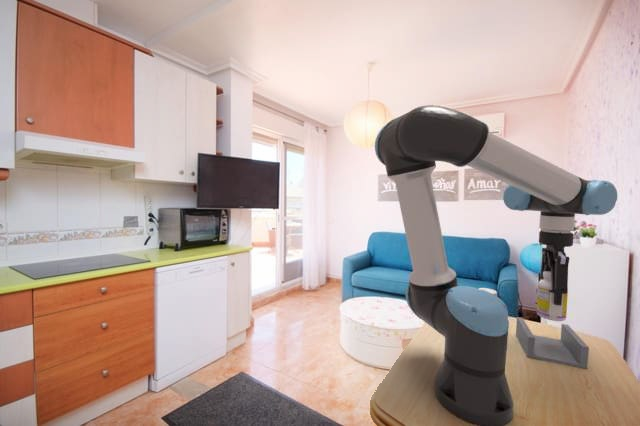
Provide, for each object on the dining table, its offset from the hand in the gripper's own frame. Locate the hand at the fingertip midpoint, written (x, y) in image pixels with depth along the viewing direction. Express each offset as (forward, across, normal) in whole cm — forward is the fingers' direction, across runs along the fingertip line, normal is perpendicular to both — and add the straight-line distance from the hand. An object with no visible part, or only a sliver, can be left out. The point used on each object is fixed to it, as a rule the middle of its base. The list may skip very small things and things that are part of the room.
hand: (550, 310), depth 83 cm
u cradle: (+12, 0, 0) cm, 12 cm away
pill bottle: (+12, +1, +16) cm, 20 cm away
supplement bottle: (+2, 0, 0) cm, 2 cm away
